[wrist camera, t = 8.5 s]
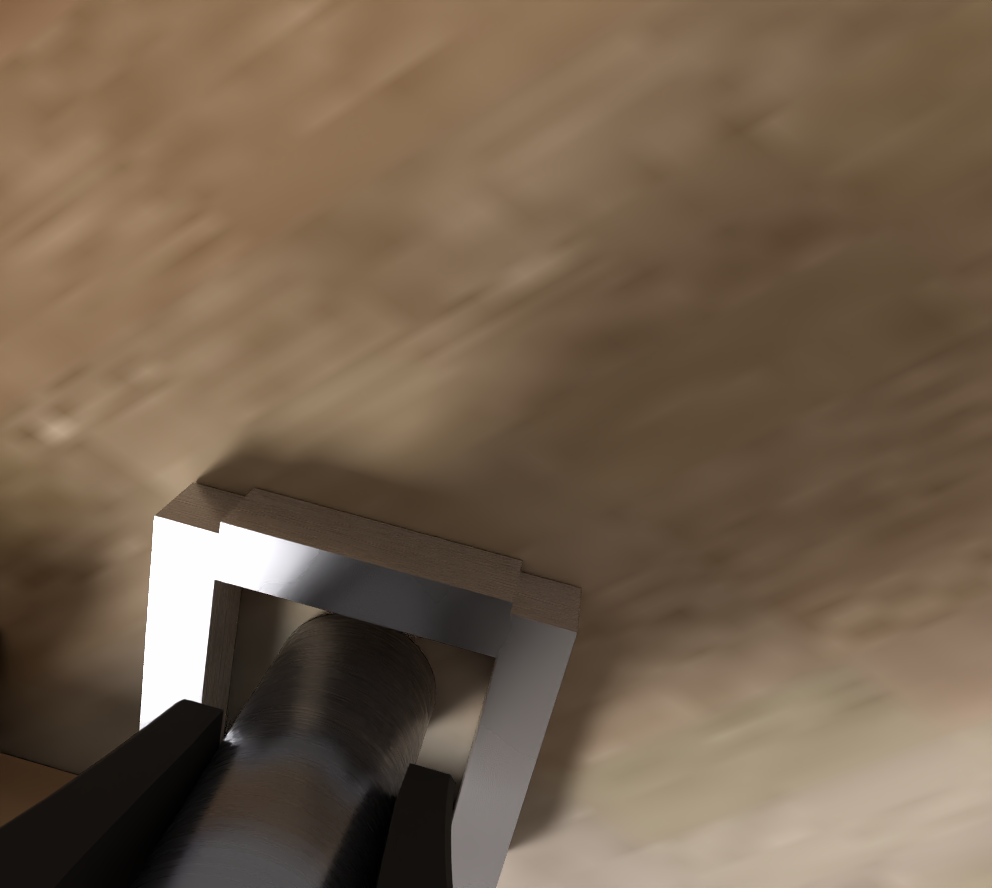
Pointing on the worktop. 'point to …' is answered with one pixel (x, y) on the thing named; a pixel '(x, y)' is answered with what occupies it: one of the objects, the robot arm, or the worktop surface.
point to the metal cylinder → (306, 767)
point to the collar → (372, 598)
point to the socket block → (26, 785)
